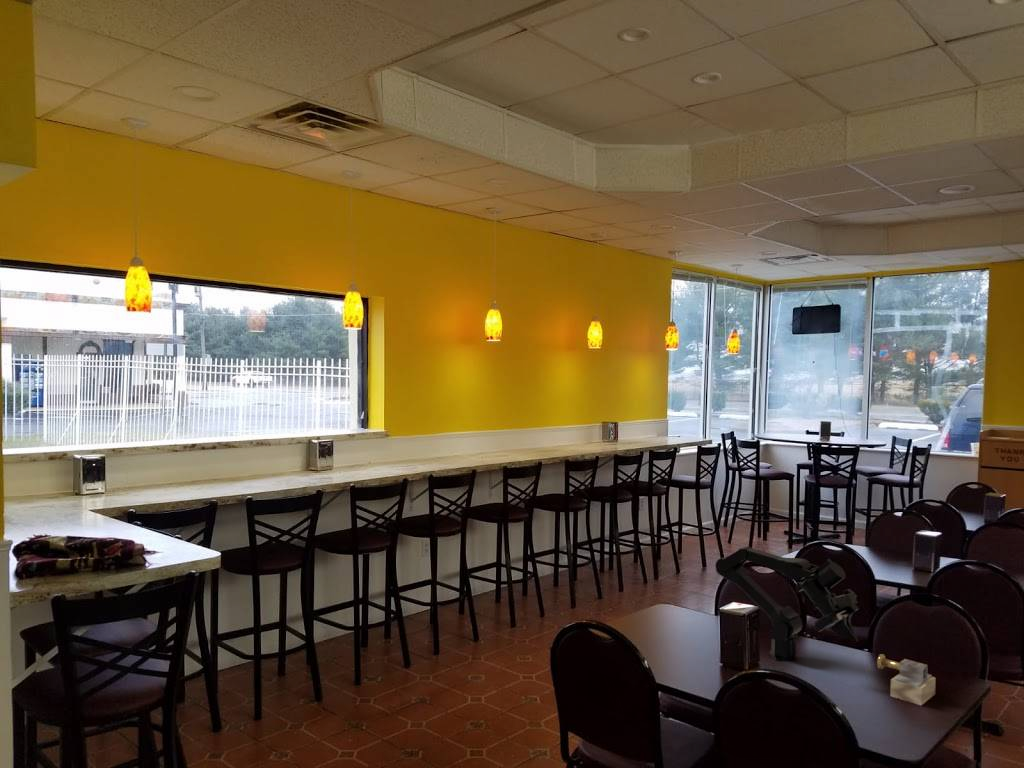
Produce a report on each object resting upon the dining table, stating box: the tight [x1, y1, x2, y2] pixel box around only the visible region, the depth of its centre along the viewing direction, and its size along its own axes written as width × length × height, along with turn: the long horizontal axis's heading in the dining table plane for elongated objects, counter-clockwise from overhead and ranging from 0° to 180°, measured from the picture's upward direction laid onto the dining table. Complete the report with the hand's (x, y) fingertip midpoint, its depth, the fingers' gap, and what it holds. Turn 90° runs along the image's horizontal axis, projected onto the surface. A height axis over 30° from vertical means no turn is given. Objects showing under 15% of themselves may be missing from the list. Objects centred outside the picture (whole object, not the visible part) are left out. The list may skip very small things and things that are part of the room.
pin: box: [876, 653, 900, 671], centre depth 218 cm, size 9×4×4 cm, turn 43°
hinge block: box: [890, 658, 936, 706], centre depth 214 cm, size 8×11×9 cm
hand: (856, 641), depth 226 cm, fingers closed
